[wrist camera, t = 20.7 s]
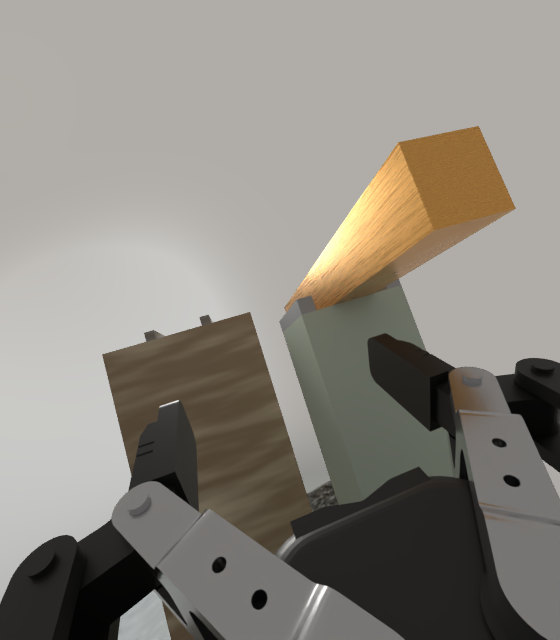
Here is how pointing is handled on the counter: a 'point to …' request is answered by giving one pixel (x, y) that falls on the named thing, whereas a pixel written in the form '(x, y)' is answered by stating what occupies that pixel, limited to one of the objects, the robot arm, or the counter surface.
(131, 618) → the counter surface
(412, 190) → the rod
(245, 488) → the stand
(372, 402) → the grooved green pillar
